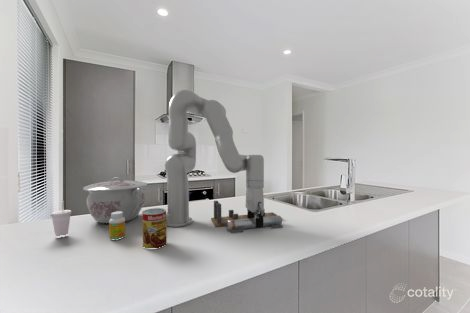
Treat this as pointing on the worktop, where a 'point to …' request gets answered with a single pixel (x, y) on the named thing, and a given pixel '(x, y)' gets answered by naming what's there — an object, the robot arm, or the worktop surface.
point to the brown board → (221, 221)
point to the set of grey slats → (242, 229)
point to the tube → (252, 222)
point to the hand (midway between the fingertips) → (255, 223)
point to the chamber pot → (115, 199)
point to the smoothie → (61, 221)
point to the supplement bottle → (116, 225)
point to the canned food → (154, 228)
